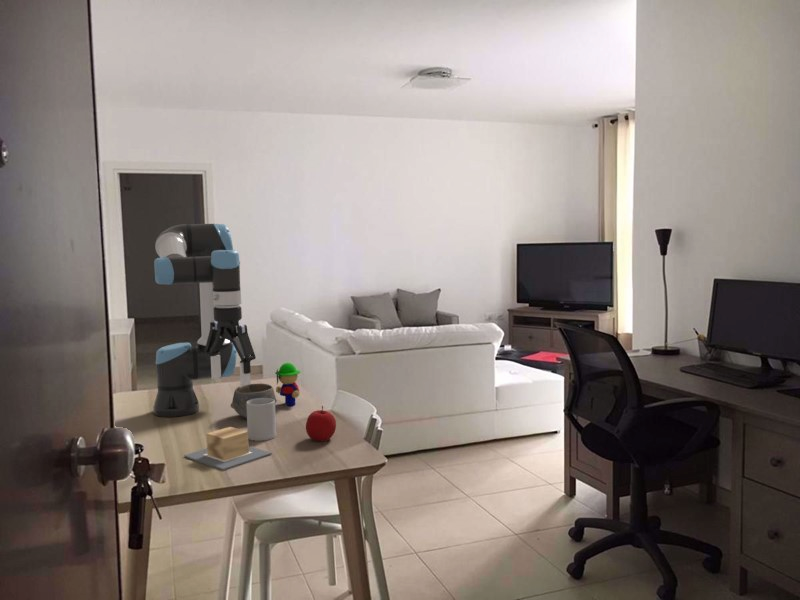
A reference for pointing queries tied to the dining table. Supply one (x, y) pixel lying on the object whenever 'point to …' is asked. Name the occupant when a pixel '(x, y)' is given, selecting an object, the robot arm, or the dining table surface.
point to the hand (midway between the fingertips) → (230, 381)
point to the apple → (320, 425)
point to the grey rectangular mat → (230, 463)
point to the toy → (288, 383)
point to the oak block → (227, 443)
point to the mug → (261, 419)
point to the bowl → (250, 396)
